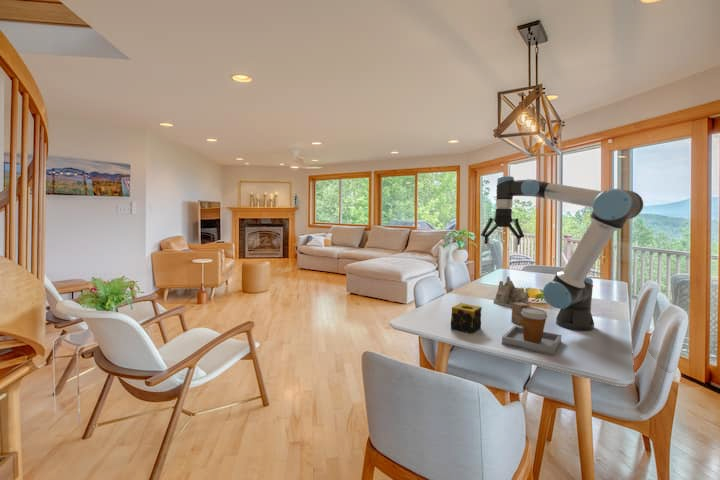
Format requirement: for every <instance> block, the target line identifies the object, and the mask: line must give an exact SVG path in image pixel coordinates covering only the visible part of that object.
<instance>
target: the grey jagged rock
mask: <svg viewBox="0 0 720 480" xmlns="http://www.w3.org/2000/svg"><path fill="white" fill-rule="evenodd" d="M505 279H506V282H505V283H504V281H503V280H499V284H498V287H497V291H496V293H495V298H494V299H493V302H492V303H493V304H495V305H499V306H503V307H512V303H519V302H522V303H525V304H528V305H529V299H530V295H529V294H528V293H527V292H525V289H524V287H521V288H520V287H515V285H514V283H513V281H512V280H511V277H510V276H507V277H506V278H505Z"/></svg>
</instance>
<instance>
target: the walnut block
mask: <svg viewBox="0 0 720 480" xmlns="http://www.w3.org/2000/svg"><path fill="white" fill-rule="evenodd" d="M524 308H530V304H529V303H528V304H525V303H522V302H519V303H512V306H511V319H510V320H511V323H514V324H515V325H517V326H523V323H522V315H521V312H522V309H524Z"/></svg>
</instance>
